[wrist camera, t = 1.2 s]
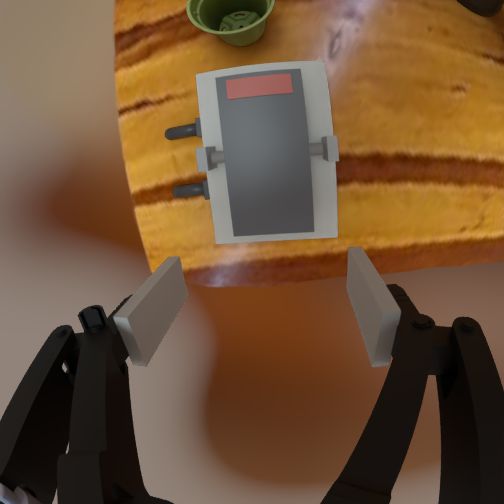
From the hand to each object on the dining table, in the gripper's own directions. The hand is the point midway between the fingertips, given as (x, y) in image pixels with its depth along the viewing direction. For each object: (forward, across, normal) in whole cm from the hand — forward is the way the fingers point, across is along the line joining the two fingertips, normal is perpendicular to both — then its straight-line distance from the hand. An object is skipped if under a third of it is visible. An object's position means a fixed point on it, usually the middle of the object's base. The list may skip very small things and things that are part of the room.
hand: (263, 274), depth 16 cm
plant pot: (+22, -2, +24) cm, 33 cm away
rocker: (+13, 0, +6) cm, 14 cm away
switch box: (+22, -3, +7) cm, 23 cm away
